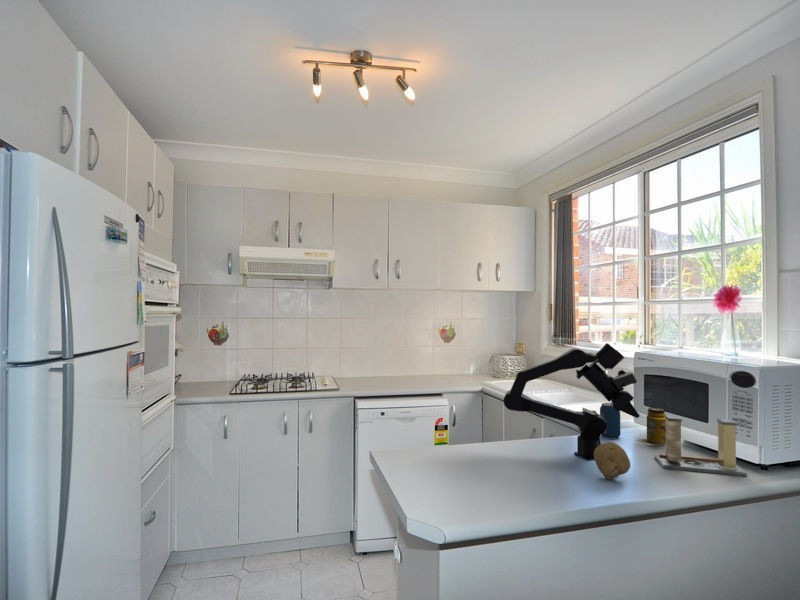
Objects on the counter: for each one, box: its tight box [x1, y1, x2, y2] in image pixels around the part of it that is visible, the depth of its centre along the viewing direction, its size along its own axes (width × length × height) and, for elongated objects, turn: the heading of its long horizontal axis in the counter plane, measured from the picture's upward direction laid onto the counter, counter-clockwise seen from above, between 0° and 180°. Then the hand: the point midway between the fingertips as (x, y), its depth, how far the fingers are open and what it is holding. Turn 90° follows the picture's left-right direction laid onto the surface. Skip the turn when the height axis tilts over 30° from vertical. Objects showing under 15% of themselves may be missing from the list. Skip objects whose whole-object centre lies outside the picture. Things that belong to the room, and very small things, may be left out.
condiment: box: [636, 407, 666, 446], centre depth 159 cm, size 7×8×12 cm
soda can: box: [599, 402, 622, 440], centre depth 165 cm, size 7×7×12 cm
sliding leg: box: [665, 414, 683, 462], centre depth 135 cm, size 3×4×13 cm
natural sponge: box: [593, 441, 631, 480], centre depth 123 cm, size 9×9×10 cm
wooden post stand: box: [653, 418, 748, 477], centre depth 134 cm, size 21×10×14 cm, turn 73°
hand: (638, 417), depth 138 cm, fingers closed
